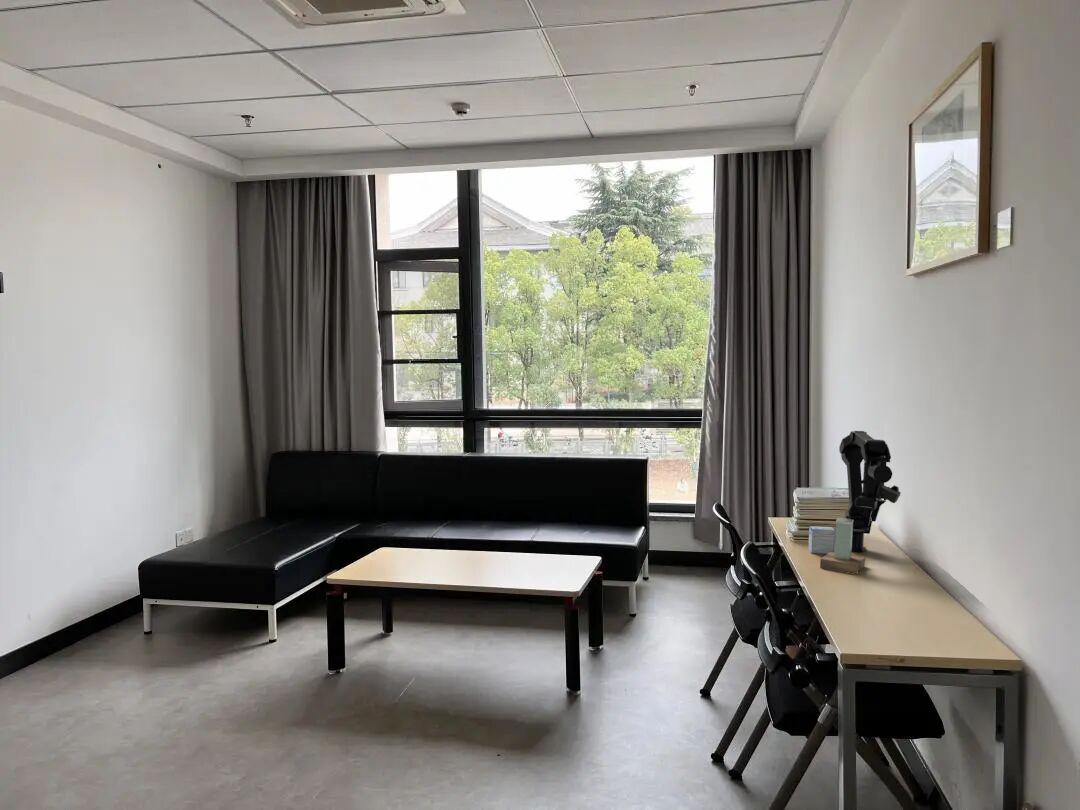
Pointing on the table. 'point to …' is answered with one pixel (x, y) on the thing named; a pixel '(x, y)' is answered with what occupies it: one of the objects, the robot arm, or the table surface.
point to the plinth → (842, 563)
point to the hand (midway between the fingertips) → (870, 523)
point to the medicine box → (821, 539)
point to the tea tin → (843, 538)
